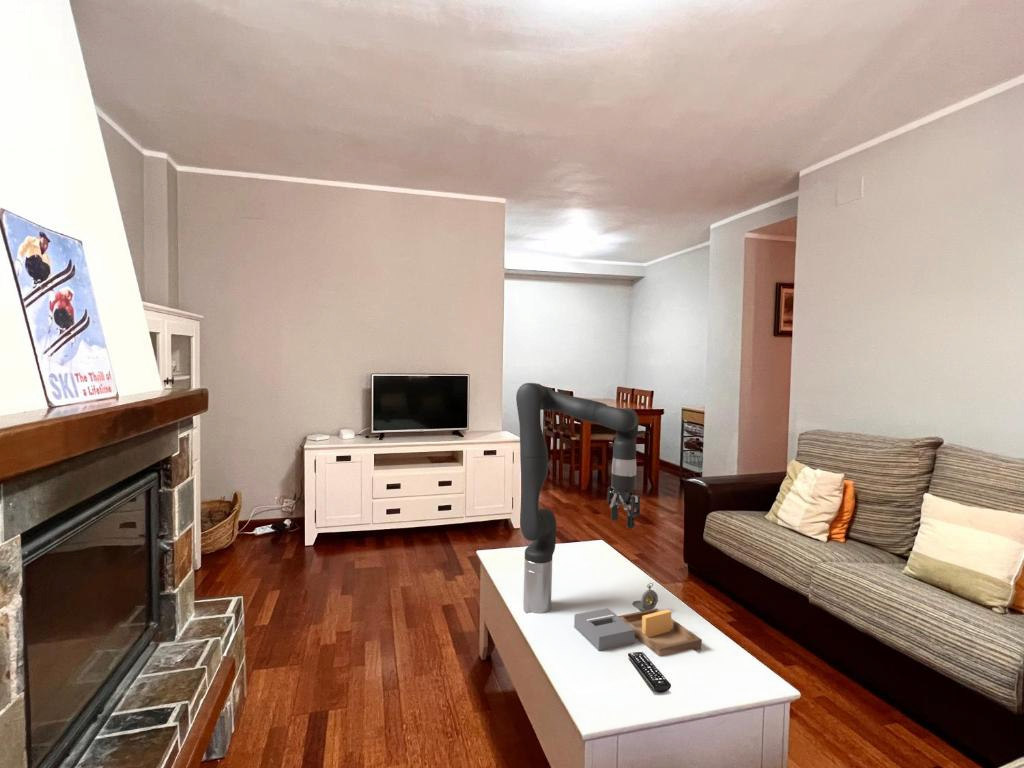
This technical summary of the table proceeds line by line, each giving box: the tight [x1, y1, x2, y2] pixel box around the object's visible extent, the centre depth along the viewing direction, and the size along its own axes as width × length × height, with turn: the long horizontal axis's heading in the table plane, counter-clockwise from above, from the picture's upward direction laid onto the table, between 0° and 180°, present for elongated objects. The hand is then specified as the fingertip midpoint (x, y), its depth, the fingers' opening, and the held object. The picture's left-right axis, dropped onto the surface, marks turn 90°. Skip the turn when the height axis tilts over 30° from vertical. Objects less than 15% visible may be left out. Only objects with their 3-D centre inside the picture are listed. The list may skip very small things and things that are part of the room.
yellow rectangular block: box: [642, 608, 672, 637], centre depth 153 cm, size 2×6×10 cm
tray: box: [617, 608, 703, 657], centre depth 153 cm, size 20×15×3 cm
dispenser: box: [573, 607, 636, 652], centre depth 151 cm, size 14×12×5 cm
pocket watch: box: [631, 582, 659, 612], centre depth 170 cm, size 8×8×10 cm
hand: (622, 524), depth 158 cm, fingers open, 8 cm apart
